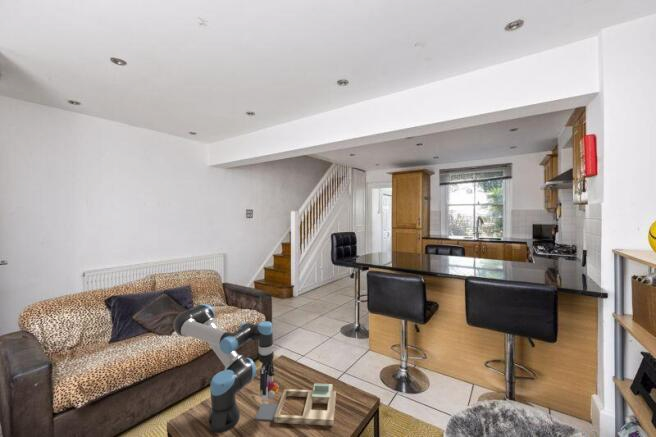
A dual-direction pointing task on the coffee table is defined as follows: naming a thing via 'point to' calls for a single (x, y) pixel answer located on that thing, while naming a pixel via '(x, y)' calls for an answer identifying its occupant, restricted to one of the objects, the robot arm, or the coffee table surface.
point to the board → (308, 409)
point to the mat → (266, 412)
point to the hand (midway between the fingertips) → (267, 393)
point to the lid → (321, 391)
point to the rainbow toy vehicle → (271, 389)
